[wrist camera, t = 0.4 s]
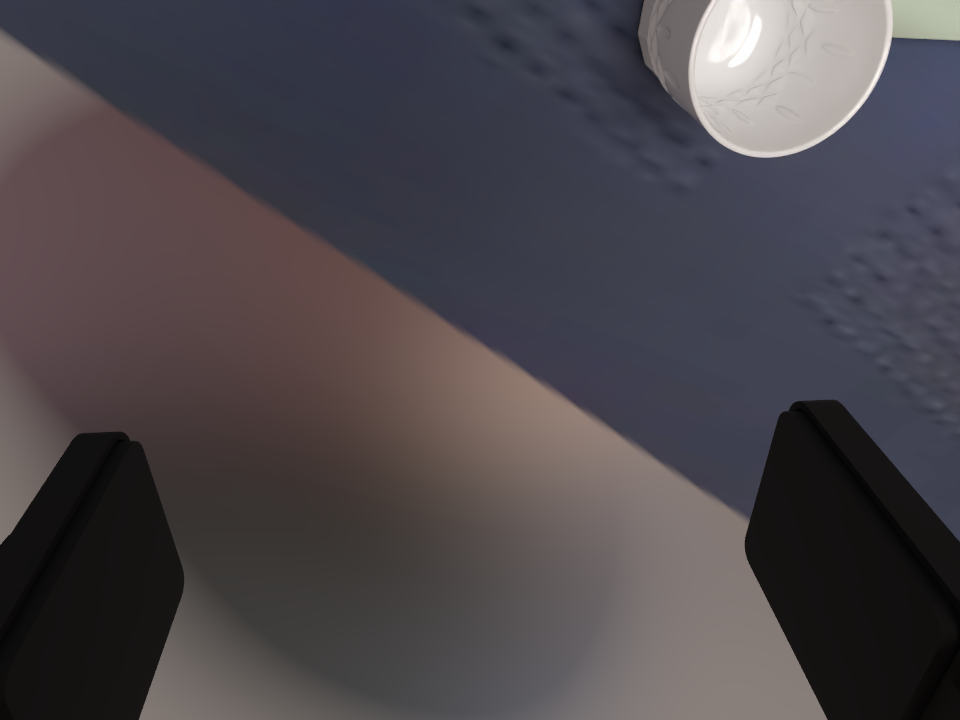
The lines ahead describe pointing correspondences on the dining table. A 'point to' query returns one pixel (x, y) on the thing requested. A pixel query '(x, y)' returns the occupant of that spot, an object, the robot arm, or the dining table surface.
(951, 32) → the board
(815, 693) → the robot arm
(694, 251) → the dining table surface
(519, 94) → the dining table surface
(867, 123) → the dining table surface
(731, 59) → the white cup
